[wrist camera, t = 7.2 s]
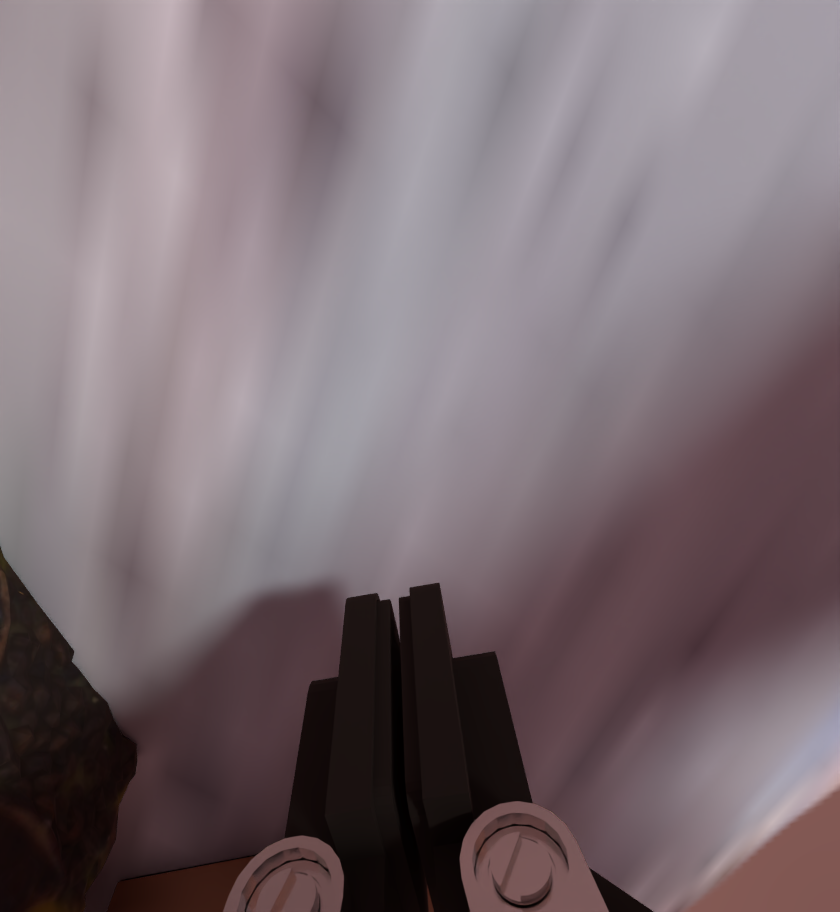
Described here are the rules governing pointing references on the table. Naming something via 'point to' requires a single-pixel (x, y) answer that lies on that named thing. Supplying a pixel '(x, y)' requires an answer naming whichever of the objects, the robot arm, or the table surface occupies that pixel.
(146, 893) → the socket block
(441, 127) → the table surface
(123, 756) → the candle
